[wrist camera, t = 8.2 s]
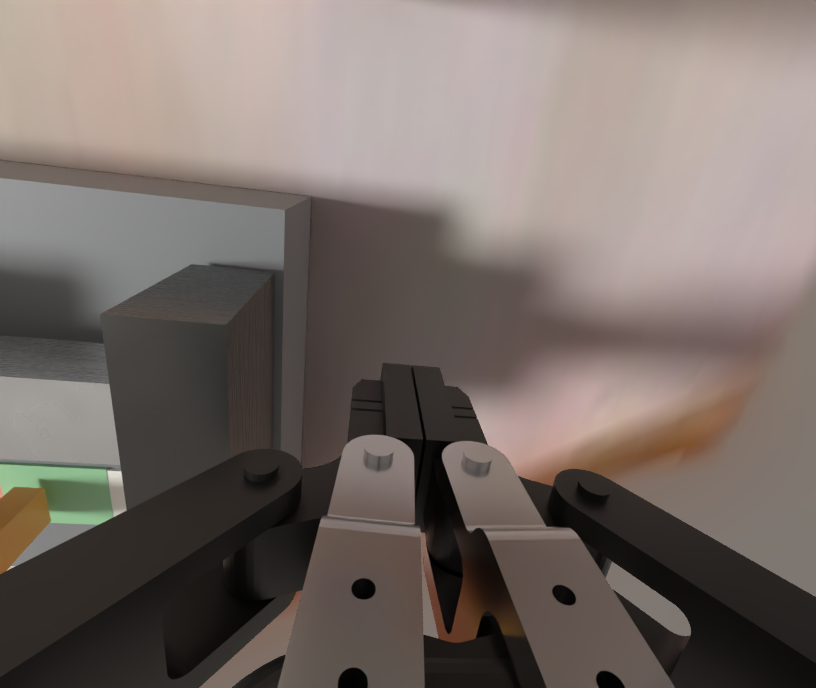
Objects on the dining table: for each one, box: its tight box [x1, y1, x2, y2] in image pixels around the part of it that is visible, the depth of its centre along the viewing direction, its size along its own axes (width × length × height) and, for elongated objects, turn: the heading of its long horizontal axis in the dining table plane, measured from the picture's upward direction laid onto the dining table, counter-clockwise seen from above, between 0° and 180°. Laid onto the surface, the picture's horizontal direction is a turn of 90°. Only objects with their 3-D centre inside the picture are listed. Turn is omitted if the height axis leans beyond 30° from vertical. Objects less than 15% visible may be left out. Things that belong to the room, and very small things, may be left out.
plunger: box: [0, 264, 275, 510], centre depth 10 cm, size 9×11×4 cm
